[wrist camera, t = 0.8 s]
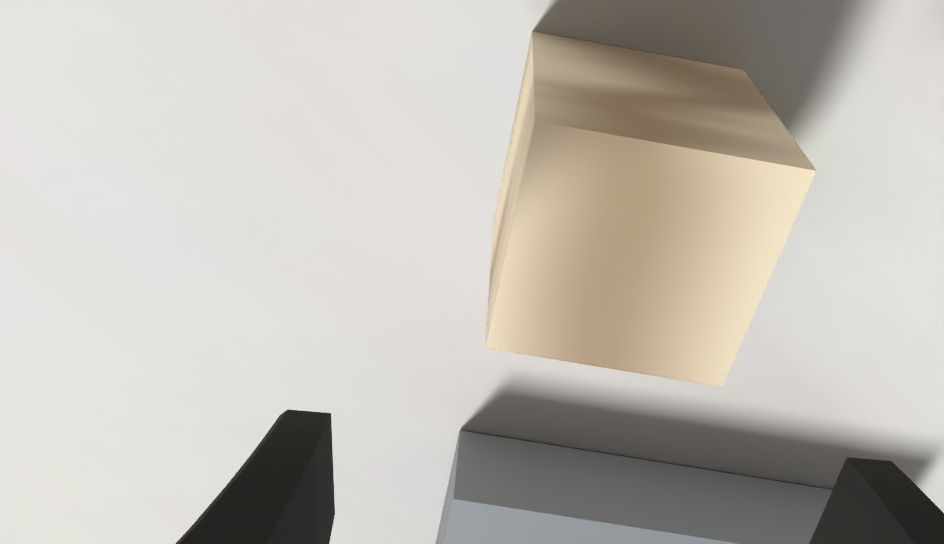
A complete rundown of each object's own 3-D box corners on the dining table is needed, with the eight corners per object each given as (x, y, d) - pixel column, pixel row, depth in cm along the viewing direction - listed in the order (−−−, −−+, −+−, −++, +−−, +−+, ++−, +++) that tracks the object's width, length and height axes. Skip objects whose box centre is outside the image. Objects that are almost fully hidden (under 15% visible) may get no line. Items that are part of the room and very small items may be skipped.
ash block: (743, 69, 17) (816, 171, 13) (679, 250, 19) (722, 387, 15) (532, 30, 17) (534, 120, 13) (493, 218, 19) (485, 347, 15)
